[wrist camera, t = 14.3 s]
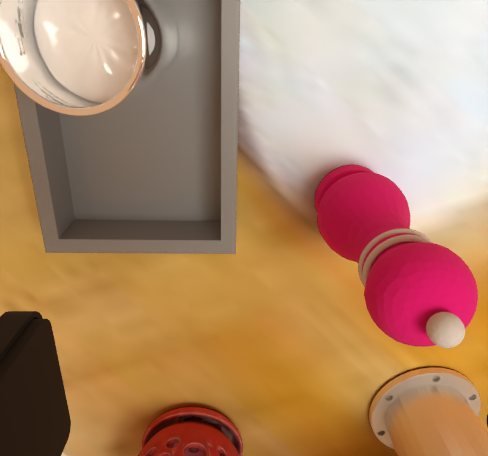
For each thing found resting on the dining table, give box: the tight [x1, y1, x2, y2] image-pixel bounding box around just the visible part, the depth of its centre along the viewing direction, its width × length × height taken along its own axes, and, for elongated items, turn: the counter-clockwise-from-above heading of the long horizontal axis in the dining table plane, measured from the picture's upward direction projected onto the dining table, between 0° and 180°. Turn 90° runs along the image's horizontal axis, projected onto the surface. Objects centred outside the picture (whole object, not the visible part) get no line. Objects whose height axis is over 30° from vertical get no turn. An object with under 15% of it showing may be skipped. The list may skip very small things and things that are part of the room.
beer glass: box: [0, 0, 178, 116], centre depth 25 cm, size 7×7×15 cm
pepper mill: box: [315, 165, 478, 348], centre depth 30 cm, size 7×7×20 cm
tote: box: [14, 0, 240, 254], centre depth 33 cm, size 22×15×5 cm
